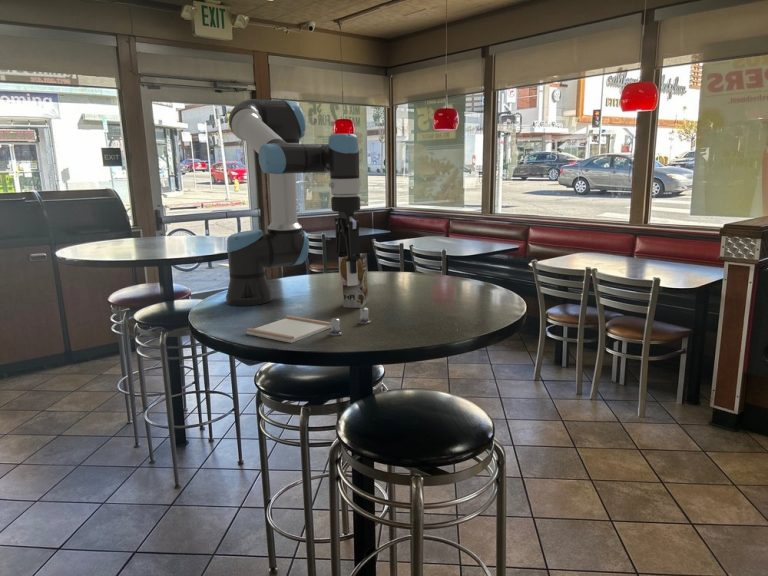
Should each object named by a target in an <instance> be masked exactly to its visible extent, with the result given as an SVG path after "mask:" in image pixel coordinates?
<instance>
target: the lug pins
mask: <svg viewBox="0 0 768 576" xmlns="http://www.w3.org/2000/svg"><path fill="white" fill-rule="evenodd" d="M369 315H370V314H369V308H368V307H362V308H359V320H358V321H357V323H358V325H359V324H360V325H367V324H371V322H372V320H371V319H370V318H369ZM329 322H331V328H330V331H329V332H328V336H330V337H340V336H342V335H343V331H342V330H341V321H340V318H338V317H334V318H333V317H332V318H330V321H329Z"/></svg>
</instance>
